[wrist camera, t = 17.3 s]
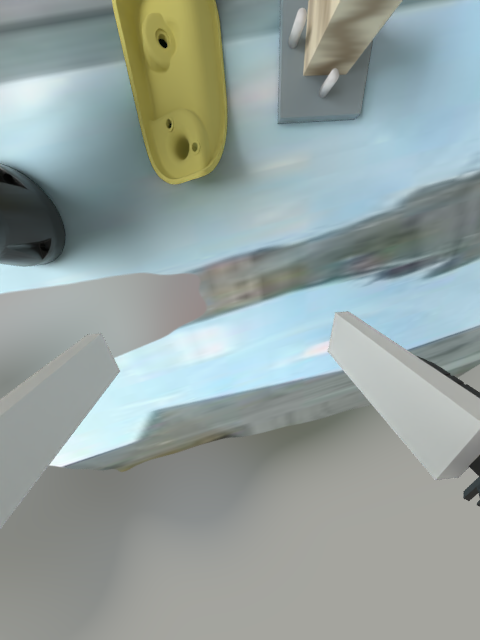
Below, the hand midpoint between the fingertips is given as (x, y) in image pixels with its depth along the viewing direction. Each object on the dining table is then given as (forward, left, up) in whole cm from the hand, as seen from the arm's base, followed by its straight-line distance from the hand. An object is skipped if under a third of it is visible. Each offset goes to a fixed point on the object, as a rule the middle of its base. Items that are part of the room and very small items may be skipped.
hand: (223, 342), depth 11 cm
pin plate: (+16, +27, -29) cm, 43 cm away
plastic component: (-4, +22, -29) cm, 37 cm away
